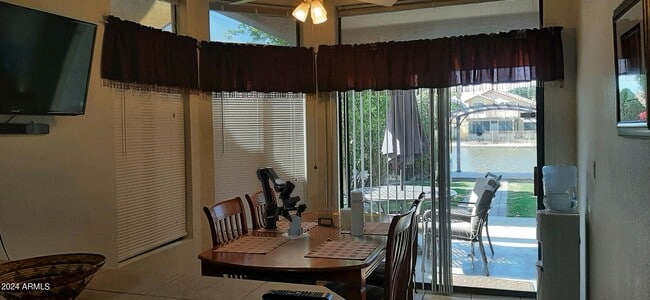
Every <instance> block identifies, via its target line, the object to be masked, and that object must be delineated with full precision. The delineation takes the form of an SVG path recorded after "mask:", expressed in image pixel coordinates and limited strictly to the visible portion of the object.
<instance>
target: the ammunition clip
mask: <svg viewBox="0 0 650 300" xmlns="http://www.w3.org/2000/svg"><path fill="white" fill-rule="evenodd" d="M317 215H318V216H317V226H321V227H322V226H324V227H335V218H334V208H333V207H329V208H328V207H326V208H325V206H324V207H323V206H321V207H320V206H319V207H318V212H317Z"/></svg>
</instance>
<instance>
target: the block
mask: <svg viewBox="0 0 650 300" xmlns="http://www.w3.org/2000/svg"><path fill="white" fill-rule="evenodd" d="M291 219H292V222H290V221H289V220H288V227H289V228H288V229H290V234H291V235H298V229H300V235H301V227H302V216H301V217H298V216H296V215H295V216H294V215H293V216H291Z"/></svg>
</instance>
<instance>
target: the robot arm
mask: <svg viewBox="0 0 650 300" xmlns="http://www.w3.org/2000/svg"><path fill="white" fill-rule="evenodd" d="M255 173H256V176H257V179H258V180H259V182H261V187H262V192H263V197H264V200H265V205H264V211H263V213H262V214H261V215H262V219H263V220H264V227H263V229H266V230H267V229H269V230H273V229H276V228H278V226H277V220H276V219H279V217H283V218H285V220H286V219H287V220H288V222H289V221H290V222H292V219H291V217H292V216H291V214H290V212H295V216H298V217H301V218H302V214H304V212H305V211H306V210H307V208H308V207H307V204H306V203H299V202H300V201H301V197H300V195H296V196H291V195H292V194H293V192H294V190H295V188H296V185H295V183H293V182H291V180H286V182H285V181H284V180H283V179H282V180H281V178H280V177H279V176H278V174H277V173H276V172H275V170H274V167H272V166H267V167H263V168H262V167H261V168H258V169H256V171H255ZM270 181H271V183H272V184H273V189H274V191H275V193H277V194H279V196H278V199H279V200H281V202H282V206H281V205H279V206H278V204H277V203H276V202H274V198H273V194H272V189H271V185H270ZM297 203H299V204H298V206H297Z"/></svg>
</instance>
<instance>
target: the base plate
mask: <svg viewBox="0 0 650 300" xmlns="http://www.w3.org/2000/svg"><path fill="white" fill-rule="evenodd" d="M303 229H304V227H303V226H301V235H300V229H298V235H291V234H290V229H289V228H287V232H285V233H281V237H283V238H287V239H289V240H297V239H304V238H310V237H311V234H309V233H306V232H304V230H303Z"/></svg>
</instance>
